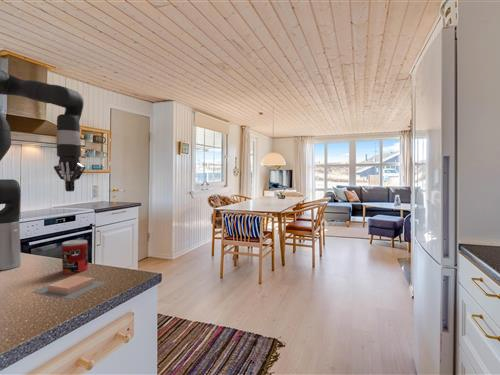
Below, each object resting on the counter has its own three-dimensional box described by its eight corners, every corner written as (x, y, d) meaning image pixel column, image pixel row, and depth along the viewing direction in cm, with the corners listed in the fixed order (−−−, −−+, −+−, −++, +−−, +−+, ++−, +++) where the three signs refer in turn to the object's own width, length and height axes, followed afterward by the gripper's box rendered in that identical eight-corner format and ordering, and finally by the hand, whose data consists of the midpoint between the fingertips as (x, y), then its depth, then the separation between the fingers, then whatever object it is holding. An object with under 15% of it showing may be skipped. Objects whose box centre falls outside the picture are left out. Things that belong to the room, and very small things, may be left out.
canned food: (57, 274, 104) (56, 243, 104) (77, 267, 112) (76, 238, 111) (73, 276, 102) (73, 245, 101) (92, 269, 109) (92, 240, 109)
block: (47, 285, 87) (68, 288, 85) (74, 275, 96) (93, 278, 93) (47, 291, 87) (68, 294, 85) (74, 280, 96) (93, 283, 94)
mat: (31, 294, 87) (31, 292, 87) (70, 279, 99) (70, 277, 99) (70, 300, 82) (70, 298, 82) (106, 284, 95) (106, 282, 95)
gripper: (45, 143, 106) (46, 191, 107) (73, 142, 102) (75, 192, 103) (64, 145, 114) (65, 190, 114) (91, 144, 110) (92, 191, 110)
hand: (70, 191), depth 109 cm, fingers closed
